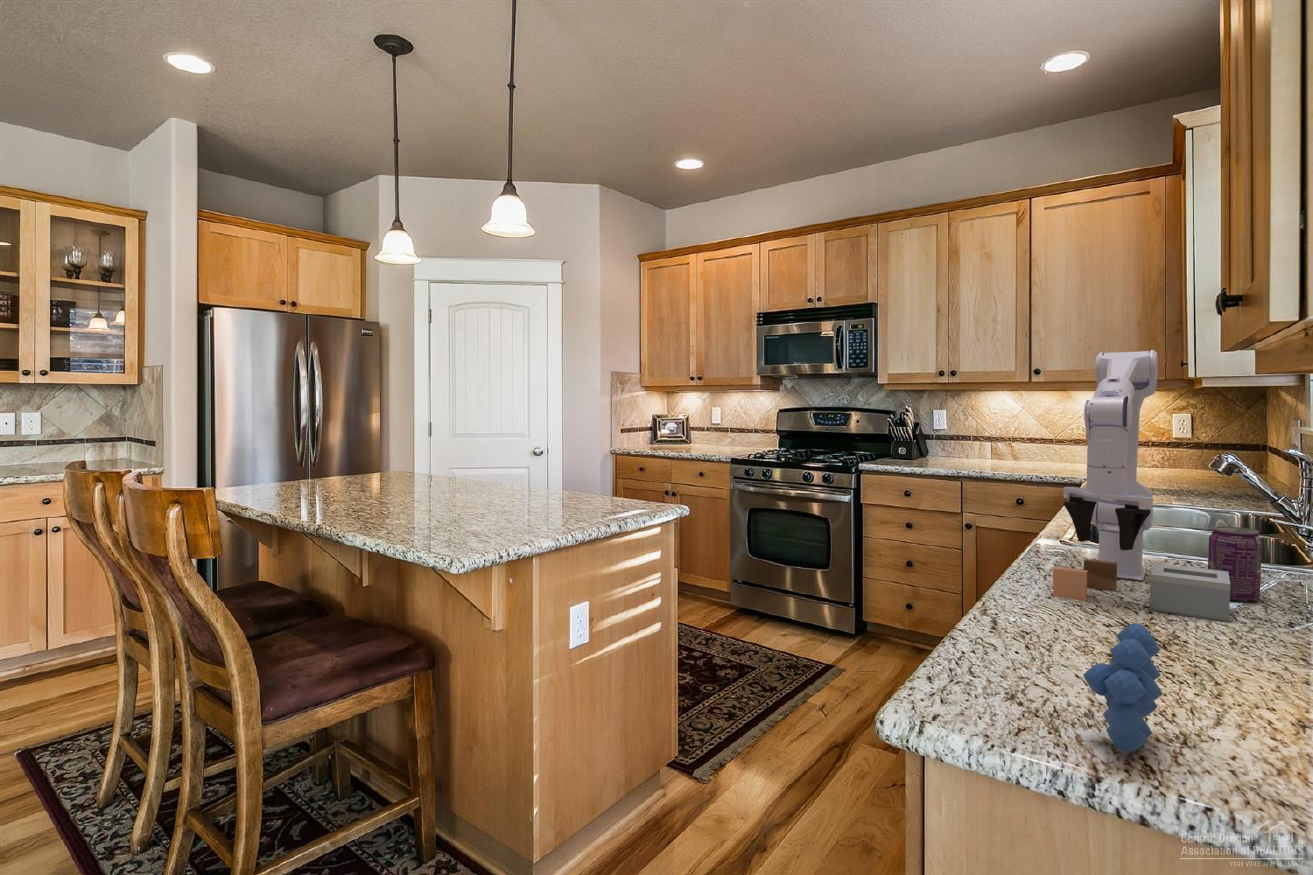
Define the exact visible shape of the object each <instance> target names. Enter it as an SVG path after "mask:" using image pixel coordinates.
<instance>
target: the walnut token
mask: <svg viewBox="0 0 1313 875" xmlns="http://www.w3.org/2000/svg"><path fill="white" fill-rule="evenodd" d="M1083 570H1088V586H1087V589H1093V590H1101V591H1106V590H1108V591H1107V592H1113V591H1114V593H1115V592H1116V591H1117V586H1118V580H1117V579H1118V578H1117V562H1108V561H1100V560H1098V559H1092V558H1091V559H1090V558H1084V560H1083Z"/></svg>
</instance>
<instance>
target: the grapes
mask: <svg viewBox="0 0 1313 875" xmlns="http://www.w3.org/2000/svg"><path fill="white" fill-rule="evenodd" d="M1116 638H1117V639H1118V641H1119V642H1118V643H1117V644H1116V645H1114V646H1113V647H1112V648H1111V649H1110V650H1109V652H1110V655H1111V656H1112V657H1111V658H1110V659H1109V660H1110V661H1111V662H1110V663H1109V664H1106V663H1105V662H1099V663H1096V664H1095V665H1092V666H1091V667H1090V668H1089V669H1087V670H1086V671H1085V672H1084V673H1083V674H1082V675H1083V678H1084V680H1085V681H1086V683H1087V685H1088V687H1089V688H1090V690H1092V692H1093V693H1094V694H1097V695H1098V696H1101V697H1104V698H1105V701H1106V702H1105V705H1106V706H1107V707H1108V708H1107V709H1106V710H1105V711H1104V712H1103V713H1102V715H1103V716H1104V719H1105V721H1106V723H1107V724H1108V727H1107V728H1106V729H1105V730H1106V733H1107V735H1108V736H1109V738H1110V740H1111V741H1112V744H1114V746H1115V747H1116V749H1117V750H1119V751H1120V752H1122V753H1125V754H1130V753H1133V752H1135V751H1138V750H1139V749H1140V748H1141V747H1142V746H1143V745H1144V744H1146V743H1147V742H1148V740H1147V739H1148V738H1149V737H1151V736H1152V734H1153V732H1152V730H1151V729H1150V726H1149V725H1148V723H1147V722H1146V720H1145V719H1144V718H1146V717H1148V716H1149V715H1150V714H1151V713H1152V712H1154V711H1155V710H1157V708H1158V706H1157V704H1156V702H1155V701H1156V700H1157V699H1159V698H1160V697H1161V696H1162V695H1163V694H1164V693H1163V692H1162V690H1161V688H1160V687H1159V685H1158V684H1157V682H1156V680H1157V679H1158V678H1159V677H1160V676H1161V673H1160V671H1159V670H1158V668H1157V666H1156V665H1155V663H1153V661H1152V658H1153V657H1154V656H1156V655H1157V654H1158V653H1159V652H1161V649H1160V647H1159V645H1158V643H1157V641H1156V640H1155V639H1154V637H1153V636H1152V634H1151V632H1150V631H1149V630H1148V629H1147V627H1146V626H1144V625H1142V624H1141V623H1138V622H1136V623H1135V622H1134V623H1130V624H1128V625H1127V626H1126V627H1124V628H1123V629H1122V630H1121V631H1119V633H1117V634H1116Z"/></svg>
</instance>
